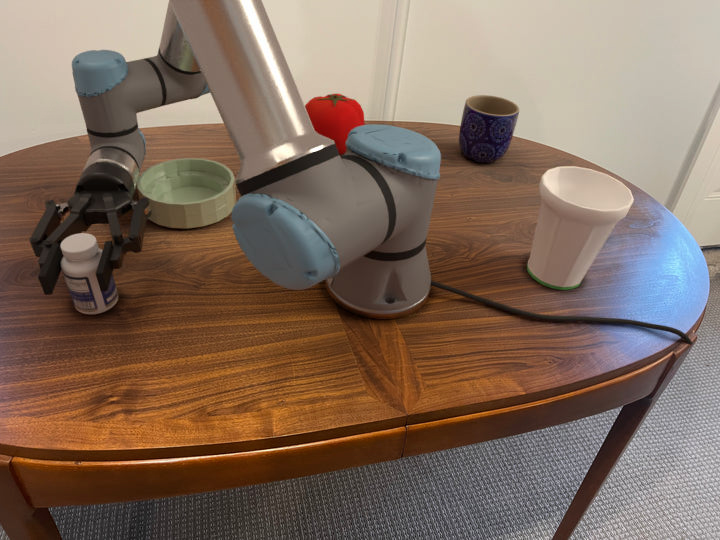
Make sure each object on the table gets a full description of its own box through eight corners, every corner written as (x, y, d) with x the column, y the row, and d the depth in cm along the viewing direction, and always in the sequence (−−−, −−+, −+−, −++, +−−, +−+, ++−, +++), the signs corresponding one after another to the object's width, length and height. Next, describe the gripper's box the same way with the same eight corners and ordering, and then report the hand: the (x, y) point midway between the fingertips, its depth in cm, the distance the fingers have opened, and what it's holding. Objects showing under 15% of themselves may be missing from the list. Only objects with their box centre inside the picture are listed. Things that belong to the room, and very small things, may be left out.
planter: (459, 140, 119) (469, 91, 112) (508, 150, 117) (522, 100, 110) (450, 161, 111) (461, 109, 104) (503, 172, 109) (517, 120, 102)
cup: (546, 306, 77) (581, 217, 68) (498, 256, 86) (523, 171, 76) (612, 290, 81) (654, 203, 72) (560, 243, 90) (591, 161, 81)
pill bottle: (110, 283, 74) (93, 224, 68) (125, 305, 71) (109, 245, 65) (68, 298, 71) (47, 238, 65) (82, 321, 68) (61, 261, 62)
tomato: (368, 162, 108) (374, 107, 101) (302, 165, 105) (303, 108, 98) (355, 136, 117) (359, 84, 110) (294, 138, 114) (294, 84, 107)
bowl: (254, 203, 93) (253, 177, 90) (186, 242, 82) (182, 215, 79) (193, 174, 99) (190, 149, 96) (122, 207, 89) (116, 181, 85)
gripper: (176, 203, 84) (161, 302, 66) (48, 207, 80) (-4, 313, 63) (169, 160, 79) (151, 254, 62) (33, 162, 76) (-27, 263, 58)
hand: (73, 283), depth 62 cm, fingers closed on pill bottle, 5 cm apart
